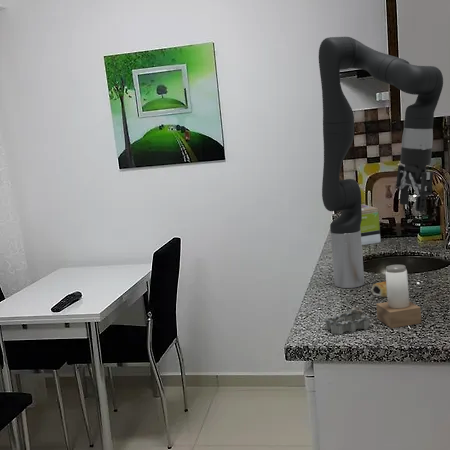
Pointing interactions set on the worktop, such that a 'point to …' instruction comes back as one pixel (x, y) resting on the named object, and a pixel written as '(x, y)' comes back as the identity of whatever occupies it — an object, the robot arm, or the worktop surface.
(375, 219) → the tea box
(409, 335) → the worktop surface
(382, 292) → the pastry
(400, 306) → the spice jar
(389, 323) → the walnut block
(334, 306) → the worktop surface
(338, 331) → the egg carton
